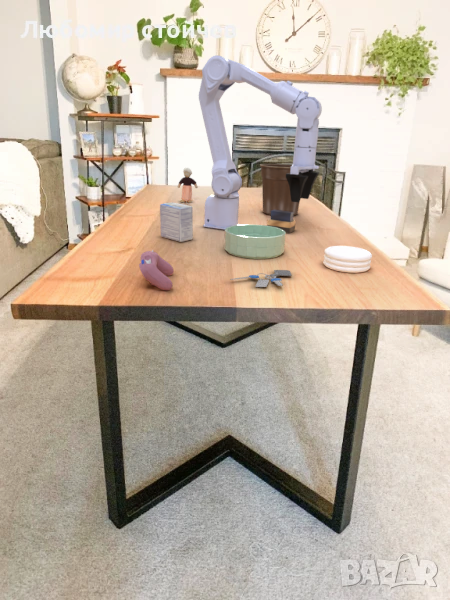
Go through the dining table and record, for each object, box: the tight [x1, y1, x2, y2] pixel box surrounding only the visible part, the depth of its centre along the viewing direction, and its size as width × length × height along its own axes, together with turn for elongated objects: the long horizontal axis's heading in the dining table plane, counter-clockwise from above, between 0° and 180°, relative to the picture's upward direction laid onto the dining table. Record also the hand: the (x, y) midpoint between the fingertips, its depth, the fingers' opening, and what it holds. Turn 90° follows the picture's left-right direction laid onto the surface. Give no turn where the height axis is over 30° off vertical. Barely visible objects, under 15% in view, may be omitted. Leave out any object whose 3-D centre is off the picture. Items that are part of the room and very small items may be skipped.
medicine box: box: [159, 202, 194, 243], centre depth 113 cm, size 8×4×9 cm, turn 47°
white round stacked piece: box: [322, 245, 373, 274], centre depth 96 cm, size 10×10×4 cm
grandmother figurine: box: [177, 167, 199, 204], centre depth 168 cm, size 8×4×13 cm, turn 95°
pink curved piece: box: [138, 249, 175, 291], centre depth 81 cm, size 10×5×7 cm, turn 5°
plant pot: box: [259, 163, 306, 217], centre depth 151 cm, size 16×16×16 cm
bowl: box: [223, 223, 287, 260], centre depth 105 cm, size 14×14×5 cm
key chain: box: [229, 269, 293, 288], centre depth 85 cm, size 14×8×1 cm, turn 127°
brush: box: [266, 210, 296, 234], centre depth 128 cm, size 7×4×6 cm, turn 63°
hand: (300, 200), depth 120 cm, fingers open, 7 cm apart
